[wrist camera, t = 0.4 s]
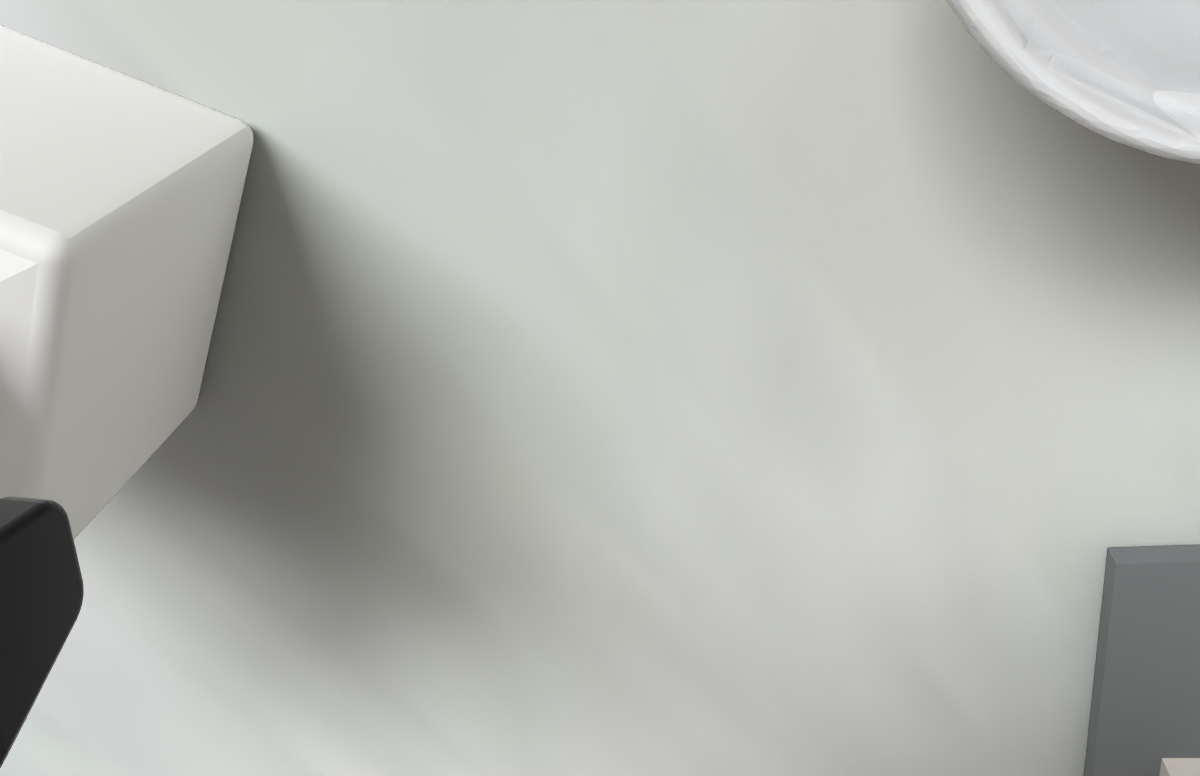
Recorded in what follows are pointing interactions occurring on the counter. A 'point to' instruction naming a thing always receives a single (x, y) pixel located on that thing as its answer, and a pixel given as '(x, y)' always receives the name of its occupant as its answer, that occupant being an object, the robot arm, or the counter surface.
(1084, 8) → the ramekin
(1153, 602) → the slate mat
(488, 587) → the counter surface
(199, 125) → the medicine bottle
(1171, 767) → the sage tile
